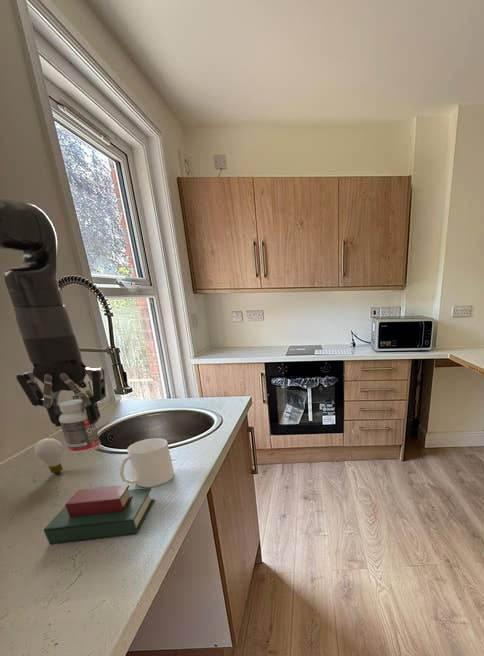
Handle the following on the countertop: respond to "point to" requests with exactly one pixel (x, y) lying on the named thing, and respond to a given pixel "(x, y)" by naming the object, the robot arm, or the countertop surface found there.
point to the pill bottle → (78, 427)
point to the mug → (149, 463)
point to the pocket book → (98, 501)
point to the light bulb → (50, 453)
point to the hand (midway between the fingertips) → (77, 423)
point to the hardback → (101, 521)
